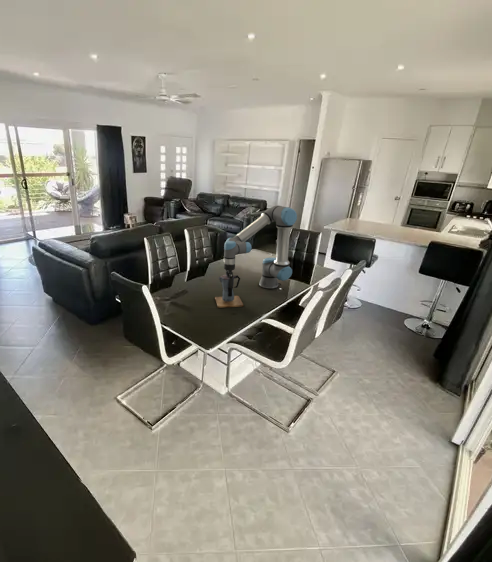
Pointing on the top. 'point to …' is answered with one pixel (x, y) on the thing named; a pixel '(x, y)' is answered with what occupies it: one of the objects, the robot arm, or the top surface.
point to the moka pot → (225, 285)
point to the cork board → (229, 302)
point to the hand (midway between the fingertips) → (228, 293)
